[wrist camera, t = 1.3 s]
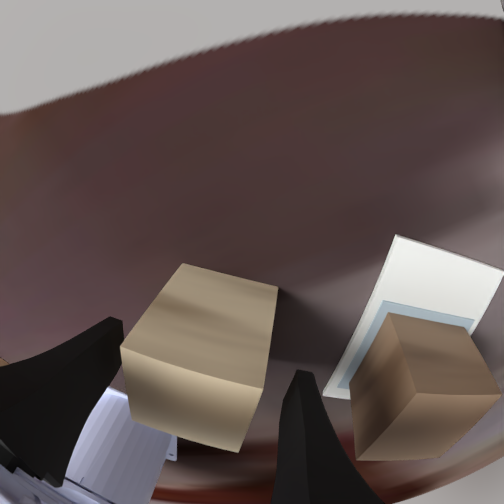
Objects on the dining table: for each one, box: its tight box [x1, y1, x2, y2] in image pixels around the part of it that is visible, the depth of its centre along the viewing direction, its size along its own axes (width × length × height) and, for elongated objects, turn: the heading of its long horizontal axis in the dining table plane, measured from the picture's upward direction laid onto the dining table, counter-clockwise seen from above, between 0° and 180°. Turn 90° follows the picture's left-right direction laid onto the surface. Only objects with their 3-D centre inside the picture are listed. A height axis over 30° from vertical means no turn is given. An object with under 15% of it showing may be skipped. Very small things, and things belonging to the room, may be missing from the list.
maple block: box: [120, 263, 278, 452], centre depth 12 cm, size 4×4×6 cm
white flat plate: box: [323, 235, 504, 400], centre depth 13 cm, size 10×7×1 cm
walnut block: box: [349, 312, 502, 461], centre depth 11 cm, size 5×5×5 cm
